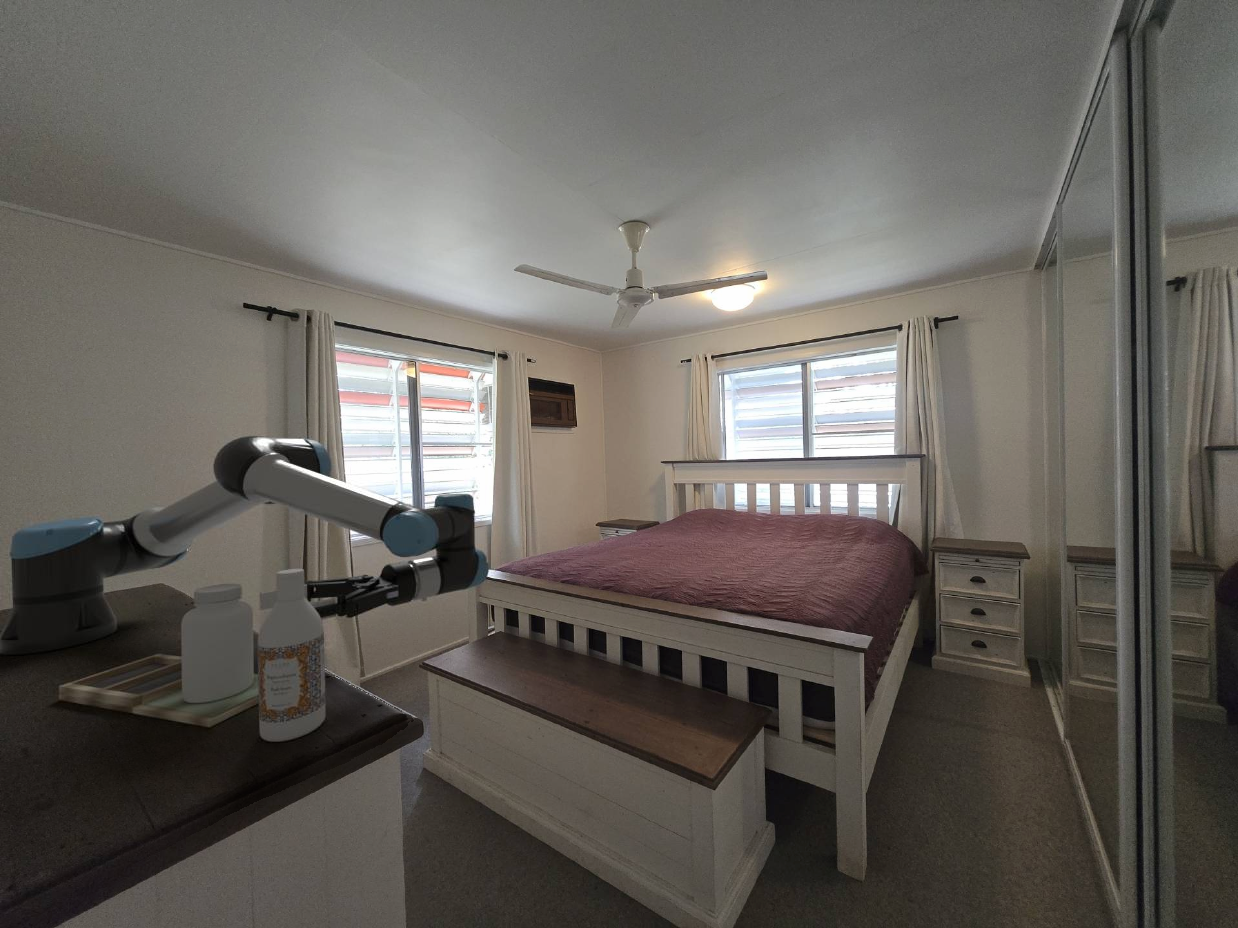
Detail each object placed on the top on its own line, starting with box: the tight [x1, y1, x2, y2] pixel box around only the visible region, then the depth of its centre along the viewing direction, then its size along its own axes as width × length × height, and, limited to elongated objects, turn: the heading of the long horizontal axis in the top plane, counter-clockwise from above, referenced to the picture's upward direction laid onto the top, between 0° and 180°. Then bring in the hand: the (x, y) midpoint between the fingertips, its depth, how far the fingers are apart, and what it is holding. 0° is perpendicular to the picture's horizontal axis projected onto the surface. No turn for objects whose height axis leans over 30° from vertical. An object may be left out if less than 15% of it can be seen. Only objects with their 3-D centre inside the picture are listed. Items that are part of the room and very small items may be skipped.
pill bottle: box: [180, 583, 255, 703], centre depth 69 cm, size 8×8×15 cm
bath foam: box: [257, 568, 326, 743], centre depth 61 cm, size 7×7×20 cm
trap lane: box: [58, 653, 259, 728], centre depth 71 cm, size 30×12×2 cm, turn 74°
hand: (271, 609), depth 73 cm, fingers open, 13 cm apart
